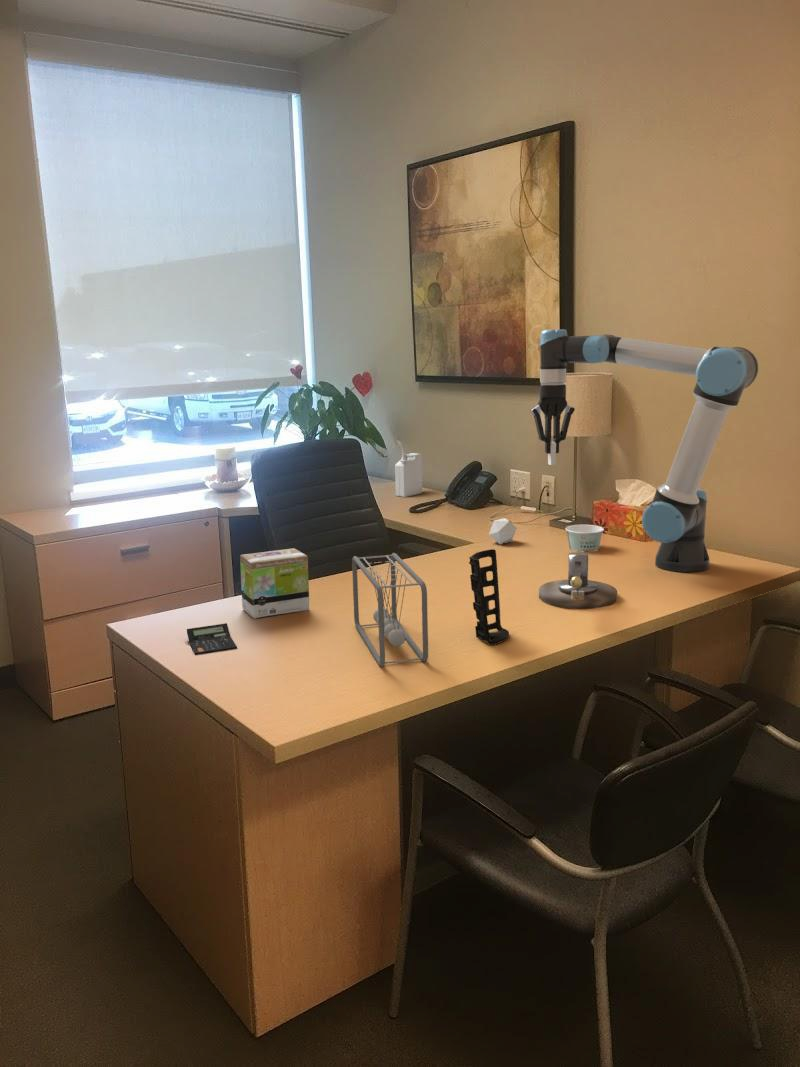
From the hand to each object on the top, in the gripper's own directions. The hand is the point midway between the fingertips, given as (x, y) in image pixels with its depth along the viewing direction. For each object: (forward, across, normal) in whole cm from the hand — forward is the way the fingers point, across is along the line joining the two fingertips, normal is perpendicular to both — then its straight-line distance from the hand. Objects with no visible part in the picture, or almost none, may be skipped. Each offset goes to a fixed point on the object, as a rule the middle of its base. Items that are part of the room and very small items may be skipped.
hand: (551, 464), depth 260 cm
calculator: (+30, +98, +53) cm, 116 cm away
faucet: (+27, +8, +45) cm, 53 cm away
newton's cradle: (+30, +58, +62) cm, 90 cm away
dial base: (+29, +5, +38) cm, 48 cm away
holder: (+30, +35, +63) cm, 78 cm away
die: (+30, +8, -26) cm, 40 cm away
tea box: (+30, +83, +31) cm, 93 cm away
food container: (+30, -15, -12) cm, 35 cm away
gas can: (+30, +25, -121) cm, 127 cm away
